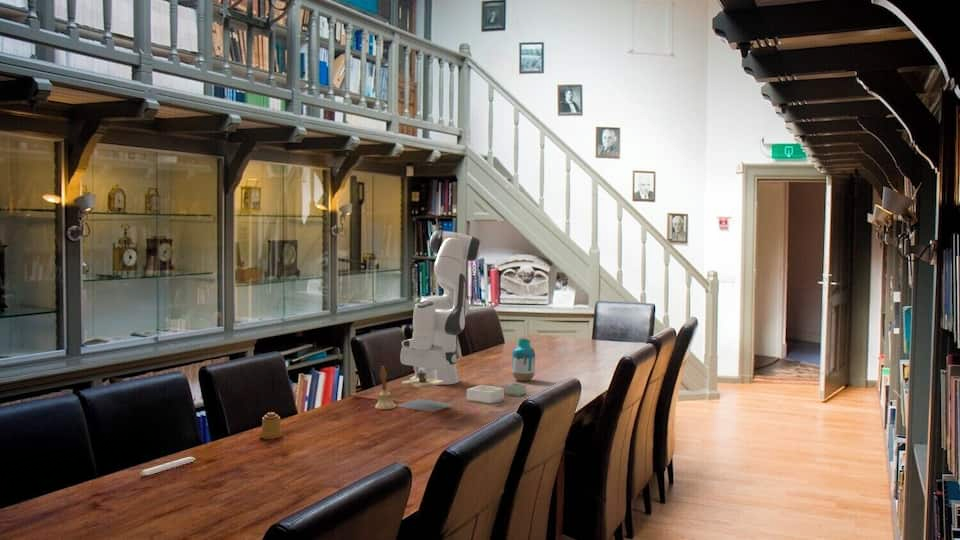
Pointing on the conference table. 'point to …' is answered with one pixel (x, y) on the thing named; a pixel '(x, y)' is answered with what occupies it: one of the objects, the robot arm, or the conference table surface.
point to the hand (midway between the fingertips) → (422, 378)
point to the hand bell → (384, 393)
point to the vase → (523, 360)
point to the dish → (485, 394)
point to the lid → (422, 381)
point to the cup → (515, 389)
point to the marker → (167, 466)
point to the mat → (425, 405)
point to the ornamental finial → (271, 426)
